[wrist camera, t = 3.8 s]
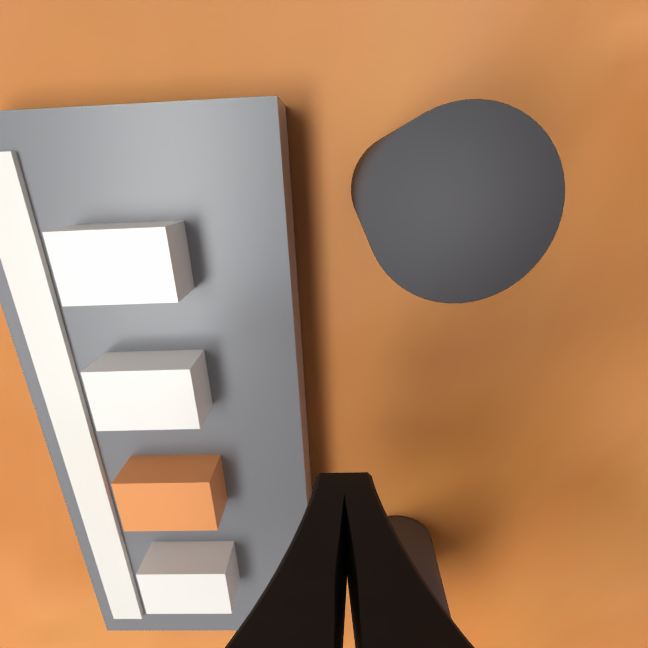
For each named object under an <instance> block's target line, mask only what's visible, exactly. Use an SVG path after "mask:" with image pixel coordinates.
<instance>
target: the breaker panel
mask: <svg viewBox="0 0 648 648" xmlns="http://www.w3.org/2000/svg"><path fill="white" fill-rule="evenodd" d="M0 303H1V306H2V309H3V312H4V315H5V318H6V321H7V324H8V327H9V330H10V334H11V337H12V340H13V343H14V346H15V349H16V352H17V355H18V358H19V361H20V364H21V367H22V370H23V373H24V376H25V379H26V383H27V386H28V389H29V392H30V395H31V398H32V401H33V404H34V407H35V410H36V413H37V416H38V419H39V422H40V425H41V428H42V431H43V435H44V438H45V441H46V444H47V447H48V450H49V453H50V456H51V459H52V462H53V465H54V468H55V471H56V474H57V477H58V480H59V484H60V487H61V490H62V493H63V496H64V499H65V502H66V505H67V508H68V511H69V514H70V517H71V520H72V523H73V526H74V529H75V533H76V536H77V539H78V542H79V545H80V548H81V551H82V554H83V557H84V560H85V563H86V566H87V569H88V572H89V575H90V578H91V582H92V585H93V588H94V591H95V594H96V597H97V600H98V603H99V606H100V609H101V612H102V615H103V618H104V621H105V624H106V627H107V630H238V629H239V627H240V626H241V625H242V623H243V622H244V620H245V619H246V618H247V616H248V615H249V613H250V612H251V610H252V609H253V607H254V606H255V604H256V603H257V601H258V599H259V598H260V596H261V595H262V593H263V592H264V590H265V588H266V587H267V585H268V583H269V582H270V580H271V578H272V577H273V575H274V573H275V572H276V570H277V568H278V566H279V564H280V562H281V560H282V559H283V557H284V555H285V553H286V551H287V549H288V547H289V545H290V544H291V542H292V539H293V537H294V535H295V533H296V531H297V529H298V526H299V524H300V522H301V520H302V518H303V515H304V513H305V511H306V508H307V505H308V503H309V500H310V498H311V495H312V485H311V470H310V455H309V440H308V426H307V411H306V396H305V382H304V367H303V352H302V338H301V323H300V308H299V293H298V279H297V264H296V249H295V235H294V220H293V205H292V190H291V176H290V161H289V146H288V132H287V117H286V106H285V104H284V103H283V102H282V101H281V100H280V99H279V97H278V96H260V97H242V98H223V99H205V100H187V101H168V102H150V103H132V104H113V105H95V106H77V107H59V108H40V109H22V110H4V111H0Z"/></svg>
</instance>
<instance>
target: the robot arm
mask: <svg viewBox="0 0 648 648" xmlns="http://www.w3.org/2000/svg"><path fill="white" fill-rule="evenodd" d="M347 578H348V587H349V596H350V604H351V613H352V622H353V630H354V639H355V647H356V648H474V647H473V646H472V644H471V643H470V642H469V641H468V640H467V638H466V637H465V636H464V635H463V633H462V632H461V631H460V630H459V628H458V627H457V626H456V624H455V623H454V622H453V620H452V619H451V618H450V616H449V615H448V614H447V612H446V611H445V610H444V608H443V607H442V605H441V604H440V603H439V601H438V600H437V598H436V597H435V596H434V594H433V593H432V591H431V590H430V588H429V587H428V585H427V584H426V582H425V581H424V579H423V578H422V576H421V575H420V573H419V572H418V570H417V568H416V567H415V565H414V564H413V562H412V560H411V559H410V557H409V555H408V554H407V552H406V550H405V548H404V547H403V545H402V543H401V541H400V540H399V538H398V536H397V534H396V532H395V530H394V528H393V526H392V525H391V523H390V521H389V519H388V517H387V515H386V512H385V510H384V508H383V506H382V504H381V501H380V499H379V497H378V494H377V492H376V489H375V486H374V483H373V479H372V476H371V475H370V474H369V473H368V472H364V473H320V474H319V475H318V476H317V477H316V481H315V485H314V488H313V492H312V495H311V498H310V500H309V503H308V505H307V508H306V511H305V513H304V515H303V518H302V520H301V522H300V524H299V526H298V529H297V531H296V533H295V535H294V537H293V539H292V542H291V544H290V545H289V547H288V549H287V551H286V553H285V555H284V557H283V559H282V560H281V562H280V564H279V566H278V568H277V570H276V572H275V573H274V575H273V577H272V578H271V580H270V582H269V583H268V585H267V587H266V588H265V590H264V592H263V593H262V595H261V596H260V598H259V599H258V601H257V603H256V604H255V606H254V607H253V609H252V610H251V612H250V613H249V615H248V616H247V618H246V619H245V620H244V622H243V623H242V625H241V626H240V627H239V629H238V630H237V632H236V633H235V635H234V636H233V637H232V639H231V640H230V642H229V643H228V644H227V646H226V647H225V648H343V635H344V619H345V602H346V585H347Z"/></svg>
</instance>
